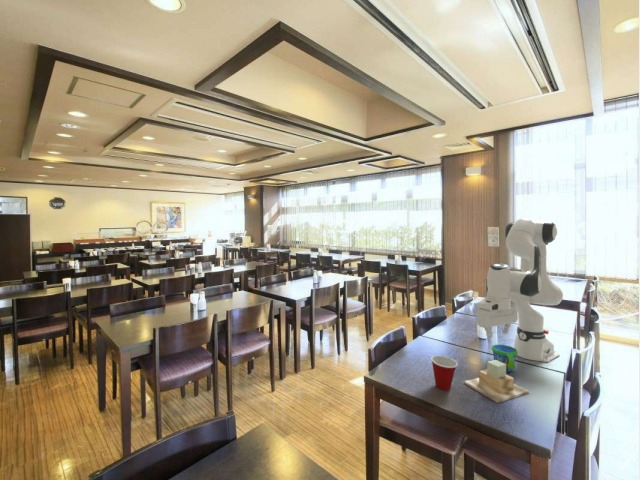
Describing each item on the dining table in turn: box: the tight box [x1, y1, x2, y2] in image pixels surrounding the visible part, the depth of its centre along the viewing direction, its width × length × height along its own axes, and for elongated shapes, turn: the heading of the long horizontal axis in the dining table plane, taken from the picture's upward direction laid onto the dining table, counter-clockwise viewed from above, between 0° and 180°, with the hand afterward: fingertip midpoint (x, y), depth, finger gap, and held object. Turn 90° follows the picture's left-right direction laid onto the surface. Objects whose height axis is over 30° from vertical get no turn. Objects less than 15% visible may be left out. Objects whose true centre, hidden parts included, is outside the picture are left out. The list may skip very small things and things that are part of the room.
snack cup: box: [491, 344, 518, 373], centre depth 151 cm, size 16×10×10 cm
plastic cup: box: [430, 355, 459, 392], centre depth 135 cm, size 11×11×12 cm
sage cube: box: [486, 359, 507, 378], centre depth 134 cm, size 5×5×5 cm
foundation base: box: [464, 368, 530, 404], centre depth 134 cm, size 18×16×6 cm
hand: (497, 334), depth 133 cm, fingers open, 8 cm apart
